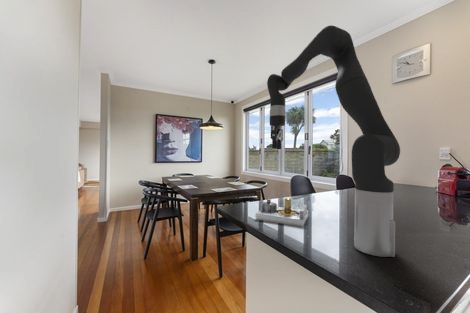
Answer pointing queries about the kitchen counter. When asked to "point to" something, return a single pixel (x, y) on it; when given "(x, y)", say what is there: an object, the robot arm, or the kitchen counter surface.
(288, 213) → the planet gear
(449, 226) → the kitchen counter surface
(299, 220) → the carrier
